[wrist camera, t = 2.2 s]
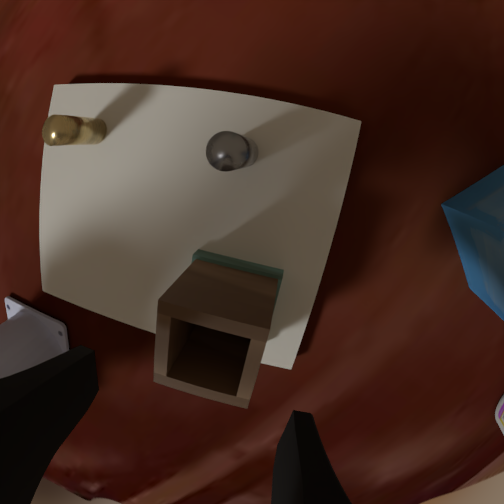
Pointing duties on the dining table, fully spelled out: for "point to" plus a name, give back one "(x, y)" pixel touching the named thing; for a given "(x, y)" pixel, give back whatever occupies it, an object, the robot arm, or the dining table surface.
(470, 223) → the perfume bottle
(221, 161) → the steel pin
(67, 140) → the brass pin
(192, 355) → the walnut sleeve
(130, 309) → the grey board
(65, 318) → the dining table surface
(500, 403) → the supplement bottle
